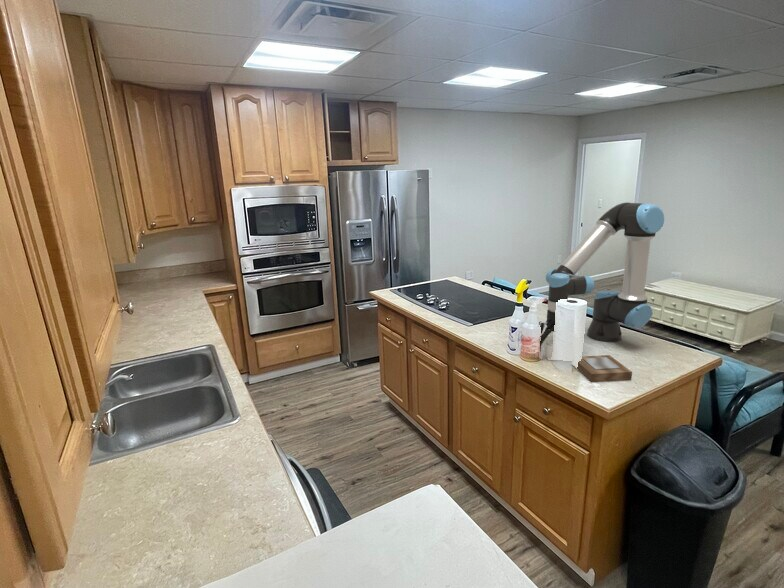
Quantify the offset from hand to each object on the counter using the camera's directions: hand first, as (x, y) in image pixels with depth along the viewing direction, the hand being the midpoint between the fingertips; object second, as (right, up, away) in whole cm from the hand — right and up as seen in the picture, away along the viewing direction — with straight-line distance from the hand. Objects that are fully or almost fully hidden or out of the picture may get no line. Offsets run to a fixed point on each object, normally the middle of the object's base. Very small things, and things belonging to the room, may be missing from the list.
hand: (552, 357), depth 184 cm
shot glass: (0, 0, 0) cm, 0 cm away
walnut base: (+14, -4, -14) cm, 20 cm away
